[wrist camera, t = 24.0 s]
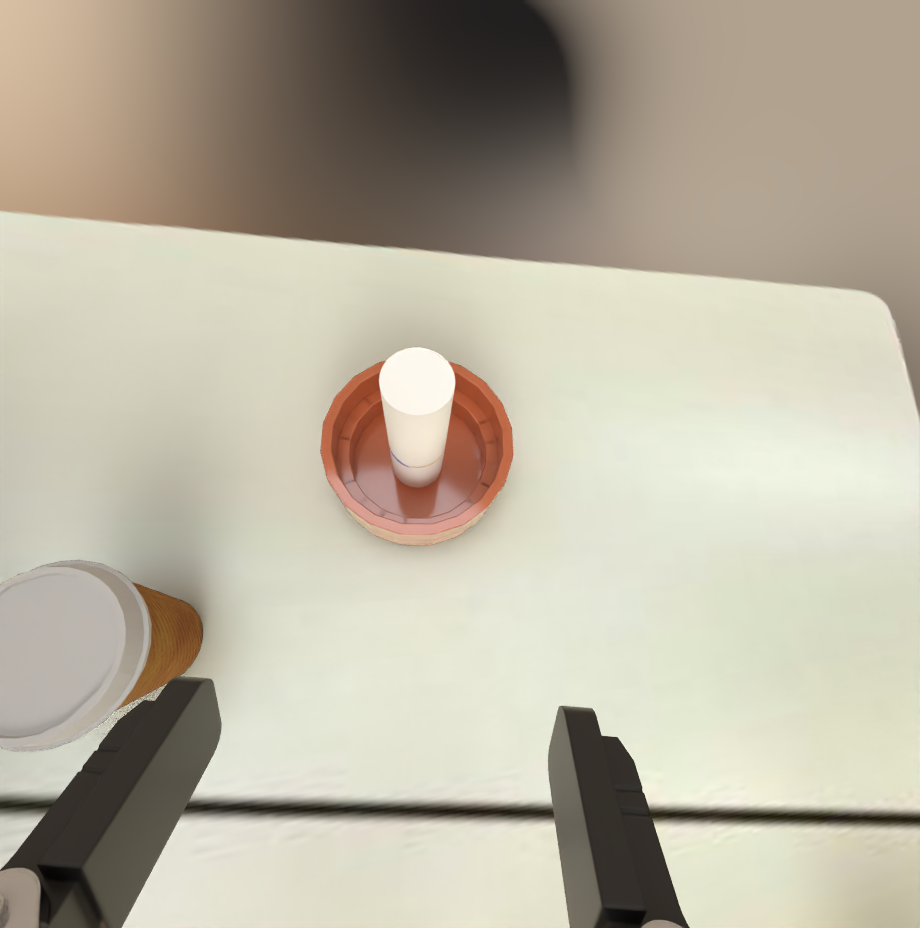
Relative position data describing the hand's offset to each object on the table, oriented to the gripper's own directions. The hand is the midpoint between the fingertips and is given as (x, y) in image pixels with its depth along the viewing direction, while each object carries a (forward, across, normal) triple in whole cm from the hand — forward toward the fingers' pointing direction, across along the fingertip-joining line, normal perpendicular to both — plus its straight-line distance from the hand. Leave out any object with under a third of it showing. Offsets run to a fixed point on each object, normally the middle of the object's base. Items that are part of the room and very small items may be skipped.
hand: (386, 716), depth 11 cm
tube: (+29, -2, -7) cm, 30 cm away
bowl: (+30, -2, -7) cm, 31 cm away
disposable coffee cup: (+18, -20, -18) cm, 33 cm away
